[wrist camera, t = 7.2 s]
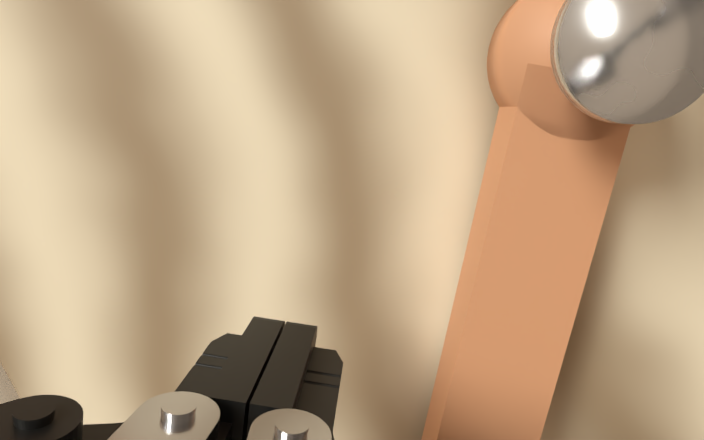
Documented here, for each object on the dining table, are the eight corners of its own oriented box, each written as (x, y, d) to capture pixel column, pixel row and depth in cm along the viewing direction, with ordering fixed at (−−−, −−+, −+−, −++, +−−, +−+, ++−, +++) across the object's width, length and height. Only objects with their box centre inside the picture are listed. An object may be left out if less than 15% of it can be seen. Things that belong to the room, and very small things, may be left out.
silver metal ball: (641, -42, 13) (708, -79, 10) (676, 93, 13) (747, 88, 11) (506, 12, 13) (538, -11, 11) (546, 140, 14) (585, 147, 11)
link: (506, -33, 15) (527, -55, 13) (659, -5, 15) (703, -23, 13) (387, 498, 19) (388, 544, 17) (509, 521, 19) (525, 569, 17)
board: (637, -279, 15) (656, -307, 14) (831, 530, 20) (856, 553, 19) (-133, 68, 18) (-163, 66, 17) (207, 698, 23) (199, 725, 22)
